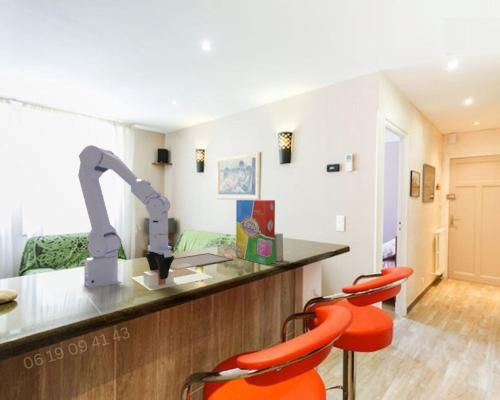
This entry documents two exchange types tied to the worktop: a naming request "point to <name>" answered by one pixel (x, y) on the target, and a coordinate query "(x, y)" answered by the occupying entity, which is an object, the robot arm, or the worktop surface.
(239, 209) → the game box
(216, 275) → the worktop surface
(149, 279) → the card box
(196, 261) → the picture frame
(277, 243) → the skincare box
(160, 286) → the mat
